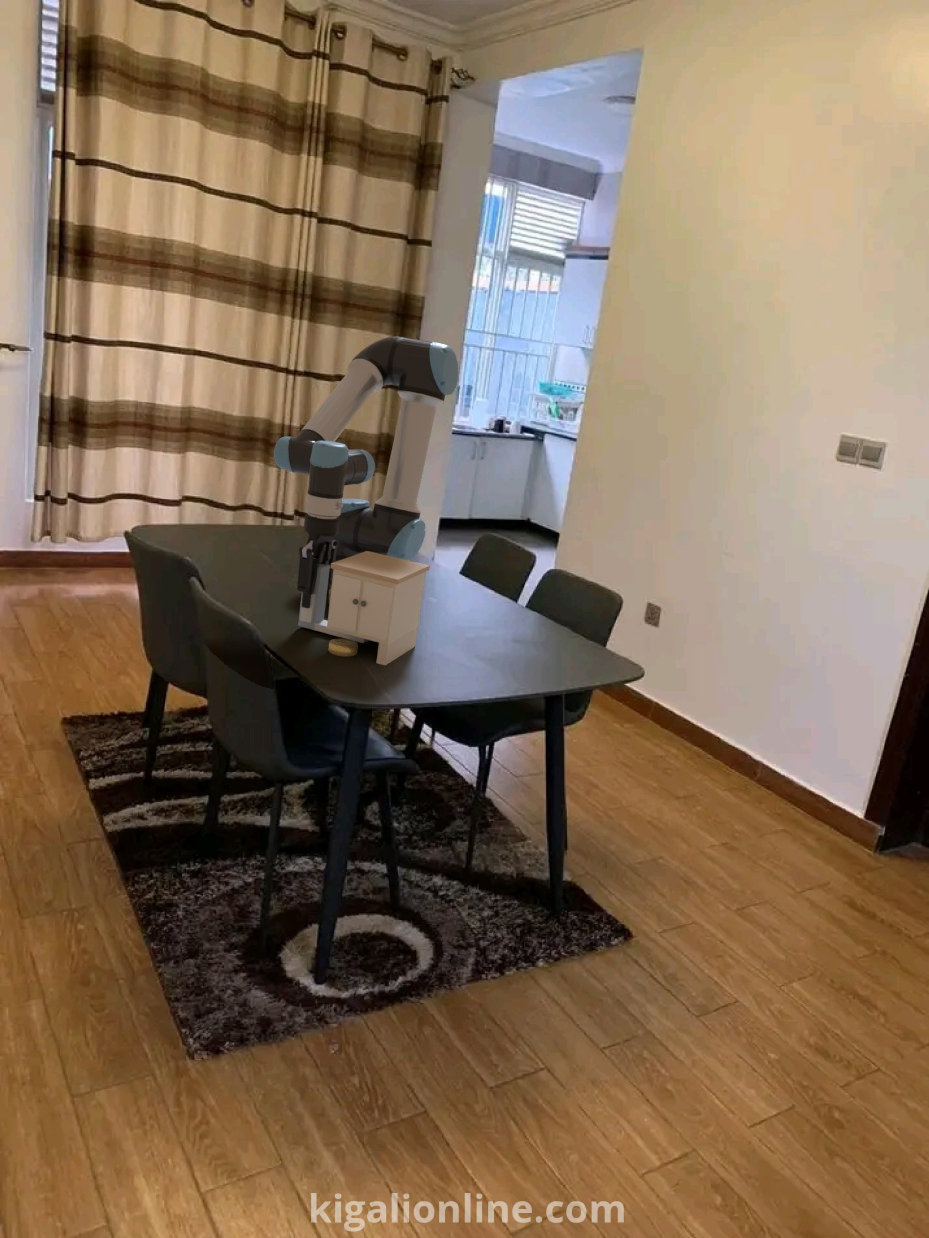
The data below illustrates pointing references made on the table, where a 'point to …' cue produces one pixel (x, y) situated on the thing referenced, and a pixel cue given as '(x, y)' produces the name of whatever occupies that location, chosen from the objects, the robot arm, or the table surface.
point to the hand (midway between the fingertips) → (311, 618)
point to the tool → (323, 607)
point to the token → (343, 647)
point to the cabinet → (378, 601)
